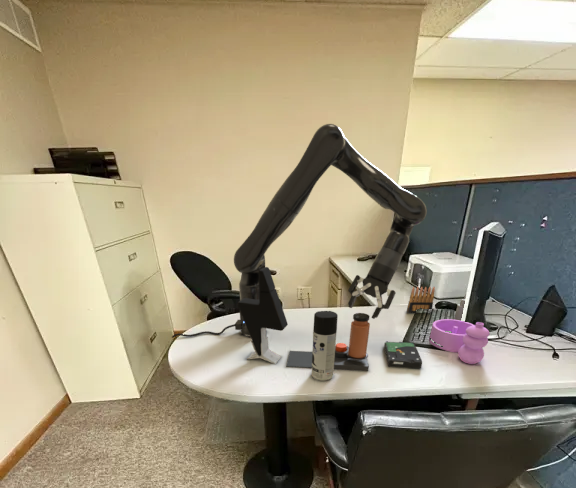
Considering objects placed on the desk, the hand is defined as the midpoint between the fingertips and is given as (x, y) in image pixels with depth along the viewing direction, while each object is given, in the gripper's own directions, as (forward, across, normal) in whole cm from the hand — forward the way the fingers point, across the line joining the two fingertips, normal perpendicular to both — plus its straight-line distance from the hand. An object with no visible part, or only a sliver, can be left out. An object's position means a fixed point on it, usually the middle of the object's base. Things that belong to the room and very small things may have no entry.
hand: (361, 312), depth 107 cm
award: (+27, -20, -11) cm, 36 cm away
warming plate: (+12, +6, -4) cm, 14 cm away
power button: (+14, 0, -2) cm, 14 cm away
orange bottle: (+12, +6, -4) cm, 14 cm away
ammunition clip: (-10, +11, +53) cm, 55 cm away
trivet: (+22, -8, -7) cm, 24 cm away
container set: (-2, +32, +23) cm, 39 cm away
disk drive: (+8, +17, +8) cm, 21 cm away
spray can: (+22, +1, -13) cm, 26 cm away
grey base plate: (+17, +3, -3) cm, 17 cm away
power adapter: (-13, +28, +49) cm, 58 cm away
